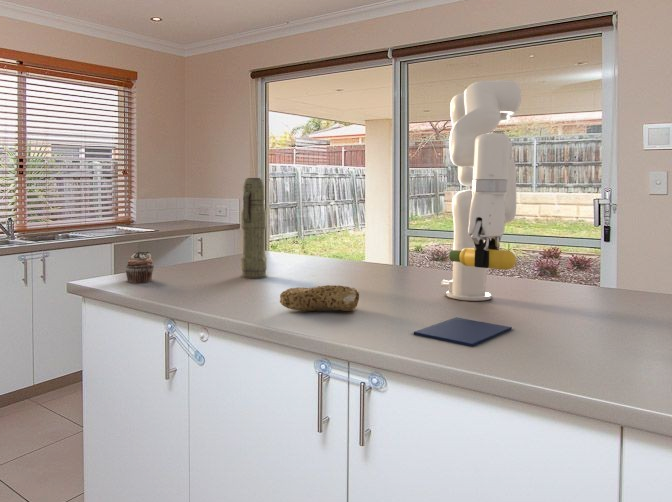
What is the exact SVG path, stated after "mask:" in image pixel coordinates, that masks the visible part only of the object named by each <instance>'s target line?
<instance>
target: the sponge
mask: <svg viewBox="0 0 672 502" xmlns="http://www.w3.org/2000/svg"><path fill="white" fill-rule="evenodd" d="M359 300H360V292H359V291H358V289H356V288H354V287H350V286H344V285H336V284H335V285H329V284H328V285H318V286H315V287H304V286H303V287H300V286H299V287H290V288H288V289H286V290H285V291H282V292H281V293H280V295H279V303H280V304H281V306H283V307H284V308H287V309H290V310H294V311H300V312H314V311H315V312H317V311H322V310H337V311H345V312H351V311H353V310H355V309H356V308H357V307H358V303H359Z"/></svg>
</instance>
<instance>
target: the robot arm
mask: <svg viewBox="0 0 672 502" xmlns="http://www.w3.org/2000/svg"><path fill="white" fill-rule="evenodd" d="M521 102H522V91H521V87H520V85H519V84H518V82H517V81H514V80H512V79H511V80H510V79H501V80H500V79H499V80H479V81H475V82H473V83H471V84H470V85H468V86H467V87H466V89H465V90H464V92H461V93H458V94H456V95H454V96H453V97H452V99H451V101H450V104H449V105H450V107H449V112H450V121H451V124H452V128H451V130H450V134H449V155H450V157H449V158H450V160H451V162H452V164H453V165H454V166H456V167H457V178H458V182H459V183H460V185H462V186H465V187H472V189H466V190H460V191H458V192H457V193H456V194H454V195H453V198H452V202H451V208H452V216H453V217H452V218H453V250H461V251H462V250H463V249H465V248H474V249H475V263H474V266H475V267H472V266H465V265H463V264H462V263H461V262H455V261H452V279H451V280H445V279H442V280H441V282H440V287H441V288H447V289H448V290H447V291H446V297H448V298H450V299H454V300H460V301H471V302H472V301H473V302H480V301H488V300H491V299H492V294H491V293H490V292H487V274H488V273H487V272H488V269H489V268H488V267H489V251H487V250H488V249H491V250H500V246H501V244H500V243H501V240H502V239H501V238H502V237H503V235H504V233H505V229H506V224H508V223H511V222H512V221H514V219H515V217H516V213H517V166H516V162H515V160H514V158H513V151H514V150H513V143H512V142H511V141H510V137H509V136H508V135H507V134H506V133H499V132H498V133H497V132H495V133H493V131H495V129H497V128H498V126H499V125H500V122H506V121H509V120H511V119H512V118H513V117H514V116H515V114H516V113H517V112H518V110H519V108H520V106H521V104H522V103H521Z"/></svg>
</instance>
